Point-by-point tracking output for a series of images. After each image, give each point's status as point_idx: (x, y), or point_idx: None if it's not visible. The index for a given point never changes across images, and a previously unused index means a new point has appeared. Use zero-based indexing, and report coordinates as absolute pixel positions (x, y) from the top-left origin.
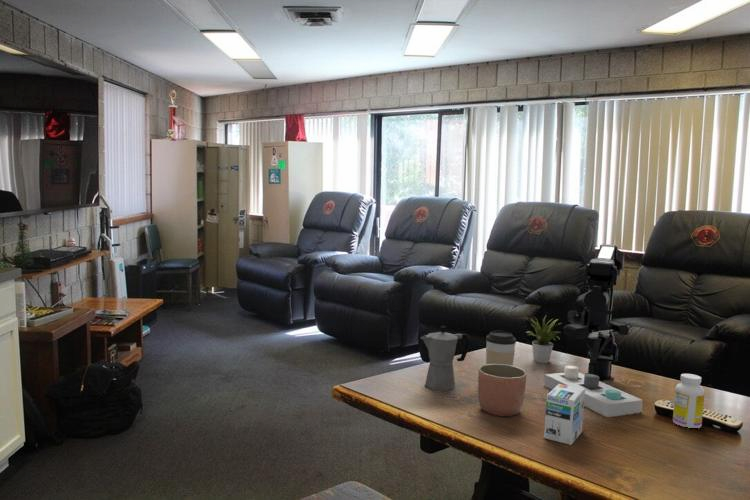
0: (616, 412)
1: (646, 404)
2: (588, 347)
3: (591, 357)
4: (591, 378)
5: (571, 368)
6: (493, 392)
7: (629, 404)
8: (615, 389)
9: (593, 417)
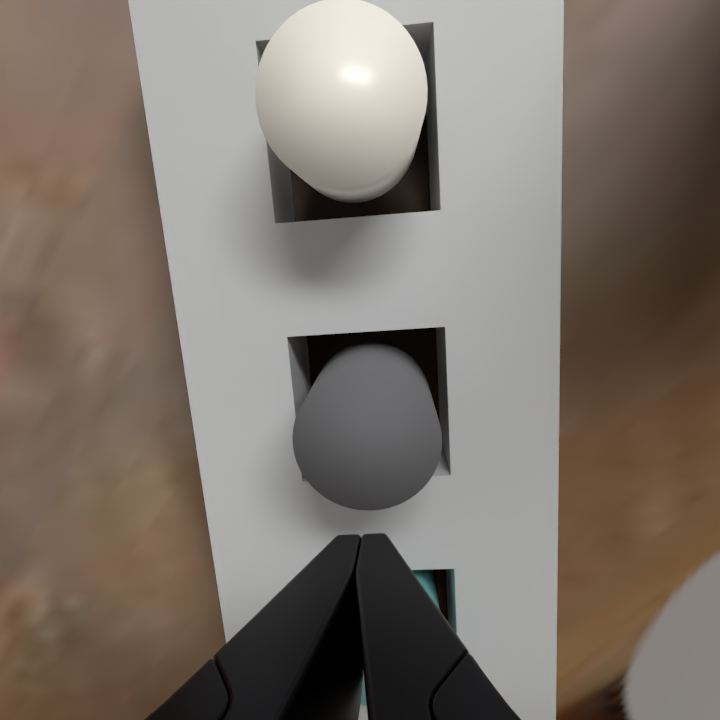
0: None
1: (690, 558)
2: (206, 663)
3: (326, 549)
4: (318, 492)
5: (313, 130)
6: None
7: None
8: (531, 513)
9: (185, 644)
